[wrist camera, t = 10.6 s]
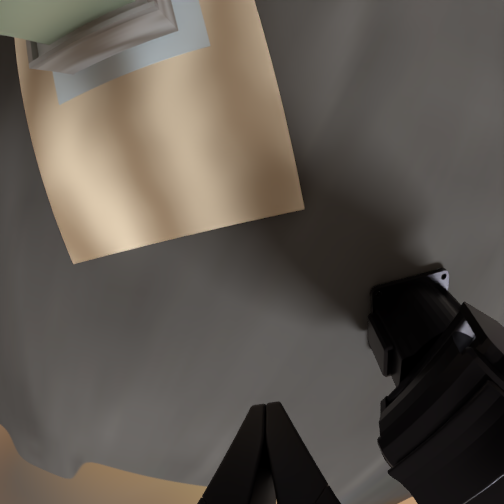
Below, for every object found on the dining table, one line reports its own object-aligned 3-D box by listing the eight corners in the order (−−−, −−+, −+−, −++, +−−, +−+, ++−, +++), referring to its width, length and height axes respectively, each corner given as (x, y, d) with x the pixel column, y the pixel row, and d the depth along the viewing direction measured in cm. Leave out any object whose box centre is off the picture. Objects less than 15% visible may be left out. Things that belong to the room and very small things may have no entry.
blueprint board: (226, -79, 12) (219, -126, 6) (302, 204, 19) (319, 237, 14) (20, 10, 13) (-28, -3, 8) (79, 258, 21) (39, 297, 16)
